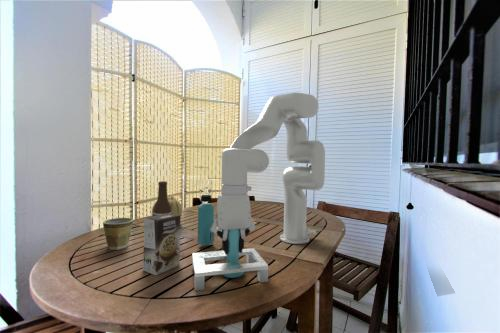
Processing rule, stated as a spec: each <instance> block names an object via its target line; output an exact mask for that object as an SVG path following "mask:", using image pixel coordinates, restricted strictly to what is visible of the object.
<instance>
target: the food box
mask: <svg viewBox="0 0 500 333" xmlns="http://www.w3.org/2000/svg"><path fill="white" fill-rule="evenodd" d="M180 216H181V217H182V215H176V214H169V213H166V214H161V215H156V216H152V215H151V216H147V217H144V220H143V222H144V224H143V226H144V227H143V255H142V256H143V258H142V259H143V260H142V261H143V262H142V263H143V264H142V266H143V267H142V271H144V272H147V273H149V274H151V275H154V276H158V275H159V274H163V273H165V272H167V271H169V270H171V269H173V268H176V267H179V266H180V263H181V262H180V260H181V258H180V257H181V256H180V255H181V217H180Z"/></svg>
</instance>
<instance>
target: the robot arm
mask: <svg viewBox="0 0 500 333" xmlns="http://www.w3.org/2000/svg"><path fill="white" fill-rule="evenodd" d="M318 111H319V102H318V99H317V98H316V96H314V95H313V94H309V93H303V92H289V93H283V94H277V95H274V96H271V97H269V99H268V100H267V102H266V104H265V106H264V108H263V109H262V111H261V113H260V115H259V117H258V118H257V120H256V122H255V123H254V124H252V125H251V126H249V127H248V128H246V129H245V130H244V131H243V132H241V133H240V134H239V135H238V136H237V137H235V139H234V141H233V142H232V144H231V145H230V147H229V148H228V147H227V148H225V149H223V151H222V153H221V185H220V186H221V188H220V189H221V191H220V193H221V194H220V193H219V194H218V195H217V200H216V208H215V220H214V223H213V225H212V226H211V228H210V230H211V231H212V232H213V233H214V235H217V236H218V237H219V238H220V239H221V241H222V242H221V251H224V252H225V254H228V240H227V234H228V230H232V229H239V252H240V253H242V249H245V239H246V237H247V236H248V235H249V234H250V232H252V231H254V230H256V228H257V226H256V225H255V223H254V221H253V220H252V208H251V201H250V196H249V194H248V192H249V191H250V192H251V191H252V186H249V185H248V173H251V174H260V173H263V172H264V171H265V170H267V169H268V166H269V163H270V162H269V161H270V158H269V155H268V154H267V153H266V152H265V150H262V149H259V148H255V147H256V146H258V145H260V144H263V143H265V142H268V141H270V140H272V139H274V138H276V136H277V135H278V134H279V131H280V129H281V127H282V125H284V126H285V127H284V128H285V131H286V158H287V160H288V162H290V163H293V164H309V165H310V166H301V165H300V166H299V165H298V166H297V165H294V166H288V167H286V168H285V169H284V170H283V172H282V184H283V190H284V195H283V196H284V198H283V199H284V203H283V206H284V208H283V233H281V234H280V236H279V239H280V241H282V242H284V243H288V244H291V245H292V244H293V245H303V244H304V245H305V244H307V243H309V242H310V237H309V236H310V235H312V236H316V235H317V230H315V229H307V212H308V211H307V209H308V208H307V205H308V204H307V203H308V199H307V196H306V195H305V192H304V190H307V191H320V190H321V189H323V187H324V185H325V176H326V175H325V174H326V172H325V171H326V170H325V169H326V151H325V147H324V144H323V143H322V142H321V141H320V140H315V139H313V140H312V139H311V140H308V130H307V125H305V123H304V121H303V120H302V119H310V118H314V117H315V116H316V115H317V113H318Z"/></svg>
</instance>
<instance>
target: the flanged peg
mask: <svg viewBox="0 0 500 333" xmlns="http://www.w3.org/2000/svg"><path fill="white" fill-rule="evenodd" d="M227 240H228V254H227V259H226V263H230V264H231V265H236V264H240V256H239V229H232V230H228V234H227ZM244 273H245V272H237V273H228V274H221V275H222V276H223V277H225V278H230V279H232V278H233V279H235V278H240V277H242V276H243V275H244Z"/></svg>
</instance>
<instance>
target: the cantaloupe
mask: <svg viewBox="0 0 500 333" xmlns="http://www.w3.org/2000/svg"><path fill="white" fill-rule="evenodd" d="M167 198H168V201H169V203H170V204H171V207H172V214H176V215H181V216H180V218H182V213H183V207H182V204H181V203H180V202H179V200H178V199H176V198H175V197H174V196H173V195H172V196H167ZM156 202H157V200H156V201H155V202H154V203H153V205H152V208H151V212H150V213H151V216H153V207H154V205H155V203H156Z"/></svg>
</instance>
